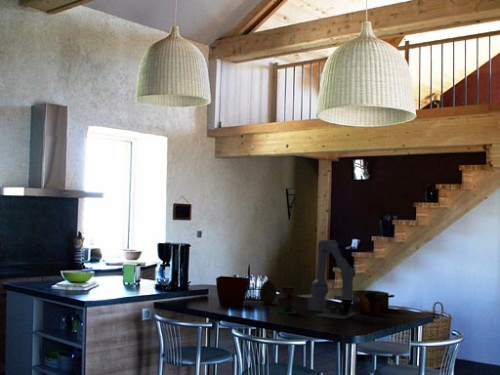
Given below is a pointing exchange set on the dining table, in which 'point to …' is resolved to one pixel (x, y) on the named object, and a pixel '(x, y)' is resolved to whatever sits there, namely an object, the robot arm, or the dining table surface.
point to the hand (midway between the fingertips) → (346, 313)
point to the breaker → (341, 309)
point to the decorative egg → (268, 292)
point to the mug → (368, 304)
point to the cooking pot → (380, 295)
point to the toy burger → (286, 300)
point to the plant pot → (232, 290)
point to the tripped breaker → (333, 310)
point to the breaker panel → (337, 314)
